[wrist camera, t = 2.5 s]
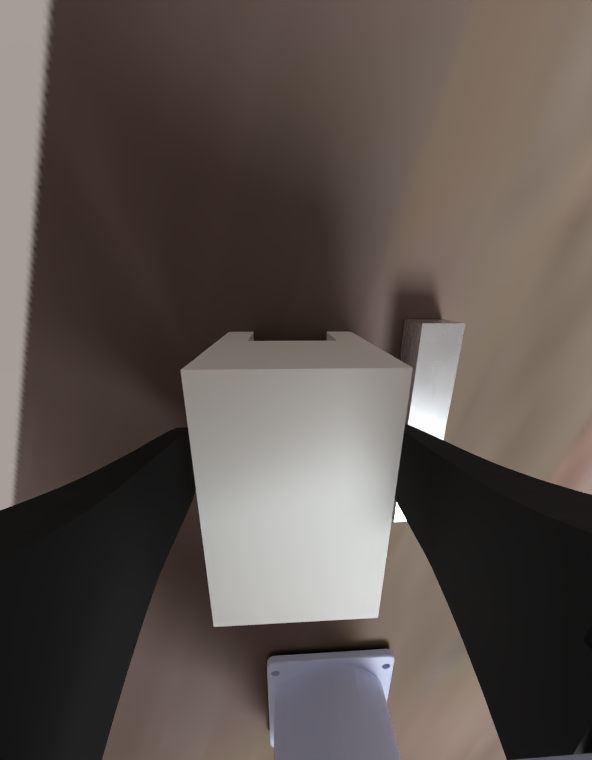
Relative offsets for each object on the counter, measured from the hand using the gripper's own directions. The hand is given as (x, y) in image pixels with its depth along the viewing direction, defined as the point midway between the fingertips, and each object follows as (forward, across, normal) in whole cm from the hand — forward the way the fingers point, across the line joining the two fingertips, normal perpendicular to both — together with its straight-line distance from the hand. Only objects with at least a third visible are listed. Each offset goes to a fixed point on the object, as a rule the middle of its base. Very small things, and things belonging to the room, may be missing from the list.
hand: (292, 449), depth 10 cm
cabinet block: (+2, 0, 0) cm, 2 cm away
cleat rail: (+2, -6, 0) cm, 6 cm away
